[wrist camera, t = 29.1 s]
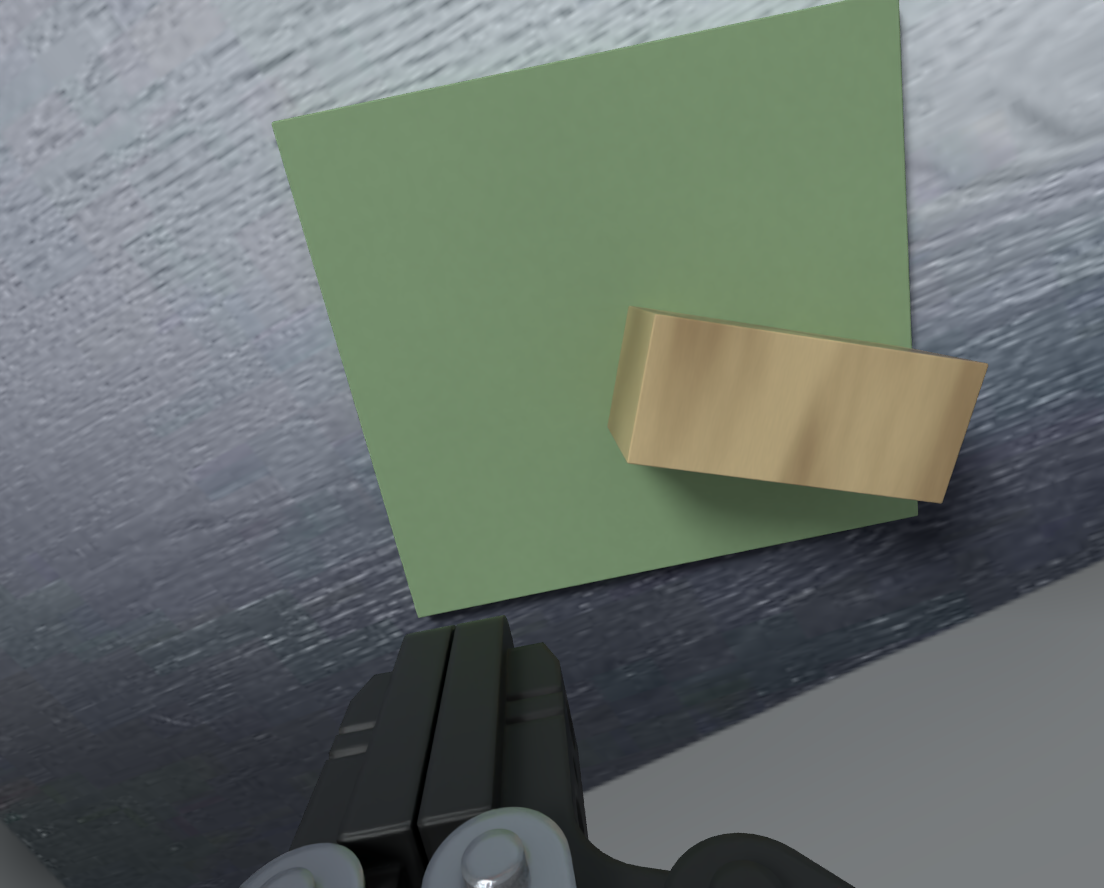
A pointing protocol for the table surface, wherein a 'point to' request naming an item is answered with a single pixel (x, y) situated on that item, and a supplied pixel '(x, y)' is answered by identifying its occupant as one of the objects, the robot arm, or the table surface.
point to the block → (790, 406)
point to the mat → (599, 282)
